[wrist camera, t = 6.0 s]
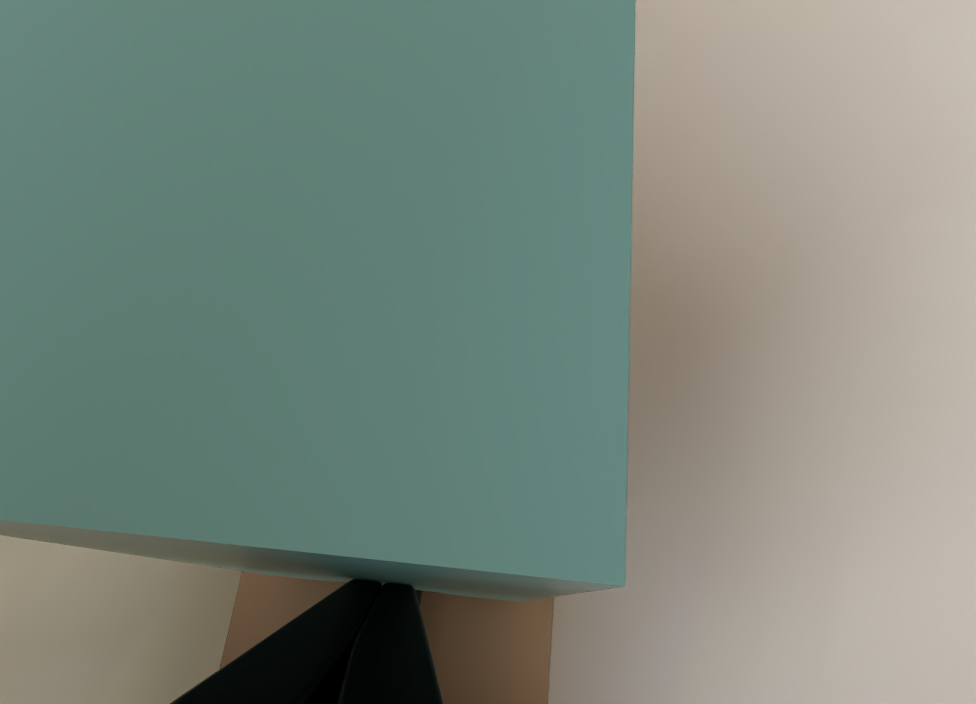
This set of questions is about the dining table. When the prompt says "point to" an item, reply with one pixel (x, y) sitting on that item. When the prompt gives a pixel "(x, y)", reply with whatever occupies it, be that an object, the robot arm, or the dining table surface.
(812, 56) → the dining table surface
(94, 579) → the dining table surface
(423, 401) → the teal rectangular block
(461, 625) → the cord board
